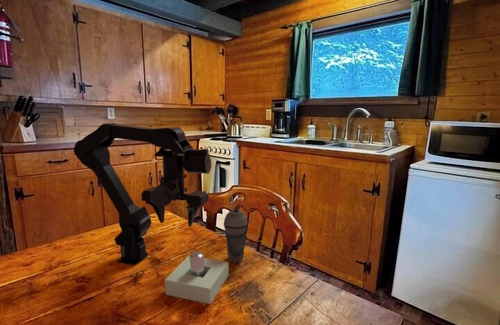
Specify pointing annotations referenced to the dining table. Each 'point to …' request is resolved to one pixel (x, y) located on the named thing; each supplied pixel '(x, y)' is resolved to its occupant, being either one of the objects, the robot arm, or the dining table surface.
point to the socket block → (197, 281)
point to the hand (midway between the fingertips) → (175, 224)
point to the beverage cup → (235, 234)
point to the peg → (197, 264)
